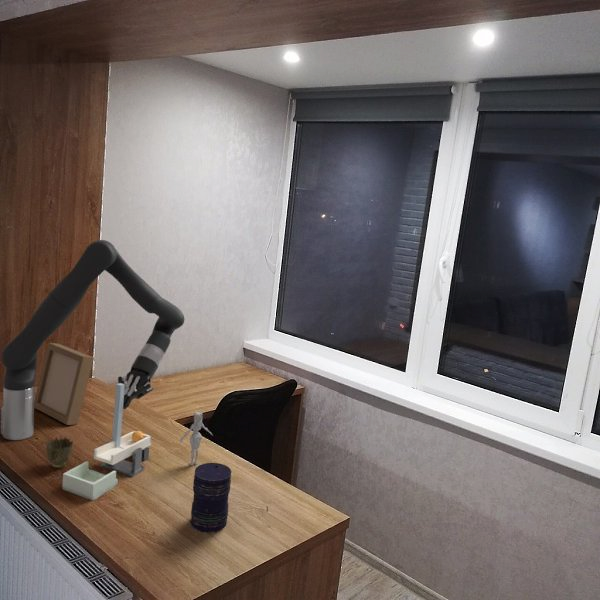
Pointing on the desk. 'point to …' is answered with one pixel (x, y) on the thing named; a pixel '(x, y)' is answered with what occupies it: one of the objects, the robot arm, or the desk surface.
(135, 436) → the ball
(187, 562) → the desk surface
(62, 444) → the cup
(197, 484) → the dark blue ridged cylinder
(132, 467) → the stand
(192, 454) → the human figurine
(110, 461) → the lever
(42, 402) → the photo frame
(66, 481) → the tray
